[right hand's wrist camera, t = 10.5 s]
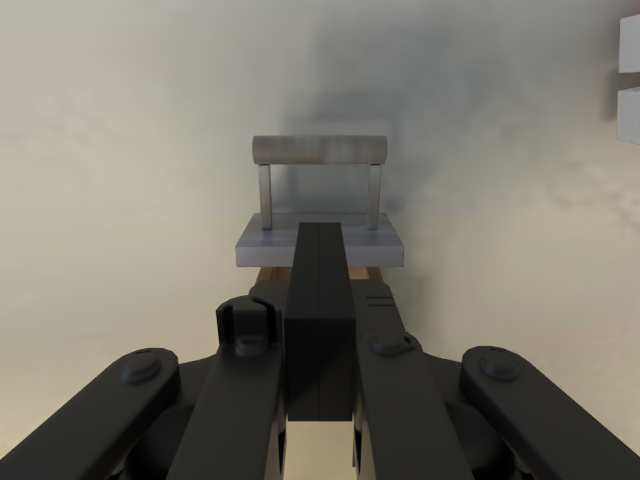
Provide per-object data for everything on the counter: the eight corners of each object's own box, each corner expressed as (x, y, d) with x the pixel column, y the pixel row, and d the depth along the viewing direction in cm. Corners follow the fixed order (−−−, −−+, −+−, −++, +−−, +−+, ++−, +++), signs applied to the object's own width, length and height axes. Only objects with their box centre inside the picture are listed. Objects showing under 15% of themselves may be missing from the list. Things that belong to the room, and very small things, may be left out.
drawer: (248, 131, 24) (226, 141, 18) (390, 131, 24) (413, 141, 18) (267, 433, 33) (256, 506, 27) (372, 433, 33) (383, 506, 27)
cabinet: (254, 308, 30) (231, 380, 22) (385, 308, 30) (407, 380, 22) (267, 498, 37) (253, 602, 29) (372, 498, 37) (386, 602, 29)
